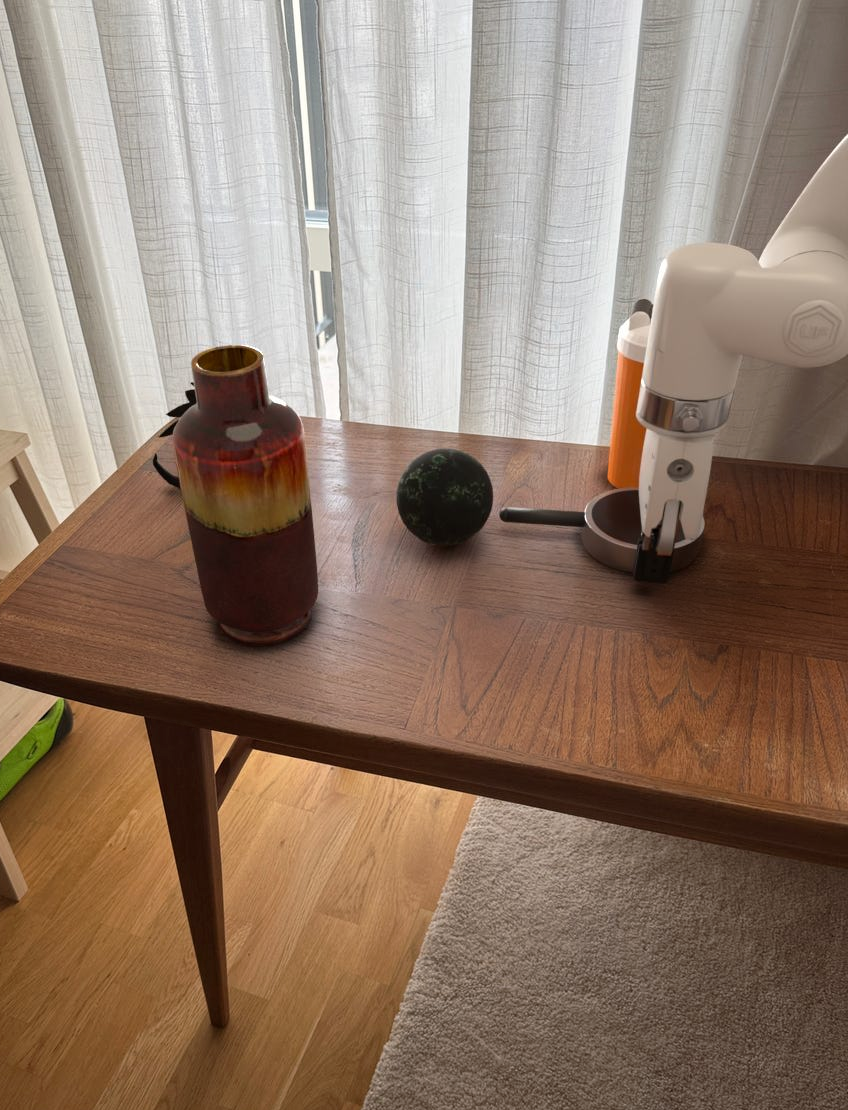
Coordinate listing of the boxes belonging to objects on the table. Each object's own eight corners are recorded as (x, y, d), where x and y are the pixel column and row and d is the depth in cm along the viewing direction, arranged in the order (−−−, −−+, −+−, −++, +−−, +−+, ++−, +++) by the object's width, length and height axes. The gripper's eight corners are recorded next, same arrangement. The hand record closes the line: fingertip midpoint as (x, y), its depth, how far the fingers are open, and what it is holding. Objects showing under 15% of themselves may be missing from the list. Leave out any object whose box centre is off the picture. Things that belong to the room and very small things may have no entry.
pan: (694, 514, 100) (700, 490, 98) (704, 579, 91) (710, 553, 89) (502, 502, 103) (504, 478, 101) (493, 563, 94) (494, 538, 92)
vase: (248, 572, 95) (210, 324, 78) (341, 599, 91) (322, 343, 74) (185, 634, 88) (127, 374, 71) (283, 667, 83) (247, 398, 67)
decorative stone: (399, 566, 95) (396, 481, 88) (395, 515, 102) (393, 433, 96) (496, 563, 94) (501, 477, 88) (485, 511, 102) (489, 429, 96)
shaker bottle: (682, 501, 102) (718, 323, 89) (600, 497, 103) (624, 322, 90) (674, 462, 109) (707, 291, 96) (597, 459, 110) (620, 290, 97)
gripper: (742, 446, 71) (697, 628, 83) (720, 367, 83) (683, 537, 94) (642, 441, 73) (612, 622, 84) (634, 364, 84) (608, 533, 96)
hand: (649, 577), depth 89 cm, fingers closed
